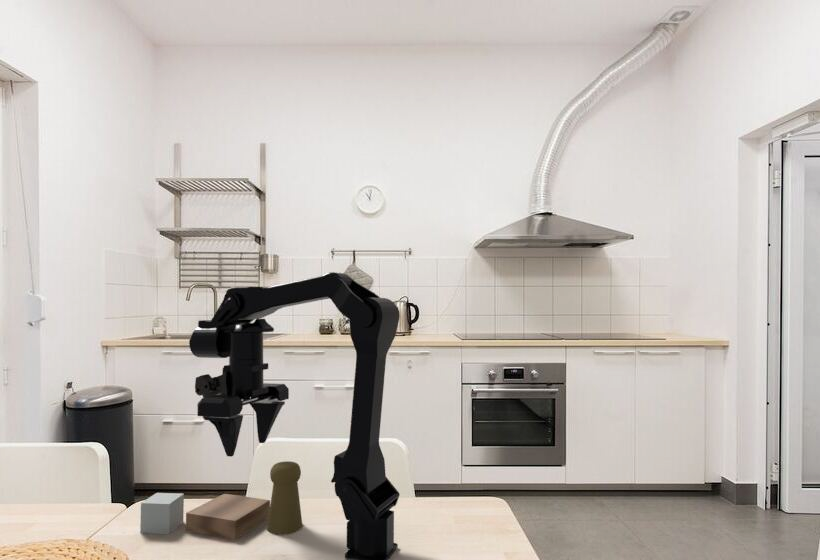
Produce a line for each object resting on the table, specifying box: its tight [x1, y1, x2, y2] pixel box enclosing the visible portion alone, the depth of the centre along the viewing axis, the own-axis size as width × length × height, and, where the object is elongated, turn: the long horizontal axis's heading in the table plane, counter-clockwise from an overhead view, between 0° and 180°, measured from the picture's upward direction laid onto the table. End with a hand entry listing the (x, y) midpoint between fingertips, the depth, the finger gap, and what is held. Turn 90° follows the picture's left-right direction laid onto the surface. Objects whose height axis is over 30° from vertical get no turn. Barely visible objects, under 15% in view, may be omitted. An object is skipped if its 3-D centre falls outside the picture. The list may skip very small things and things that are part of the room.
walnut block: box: [185, 493, 271, 540], centre depth 96 cm, size 10×10×3 cm
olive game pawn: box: [266, 460, 304, 536], centre depth 95 cm, size 6×6×11 cm
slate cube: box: [139, 492, 185, 535], centre depth 95 cm, size 5×5×5 cm
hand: (246, 449), depth 95 cm, fingers open, 9 cm apart
